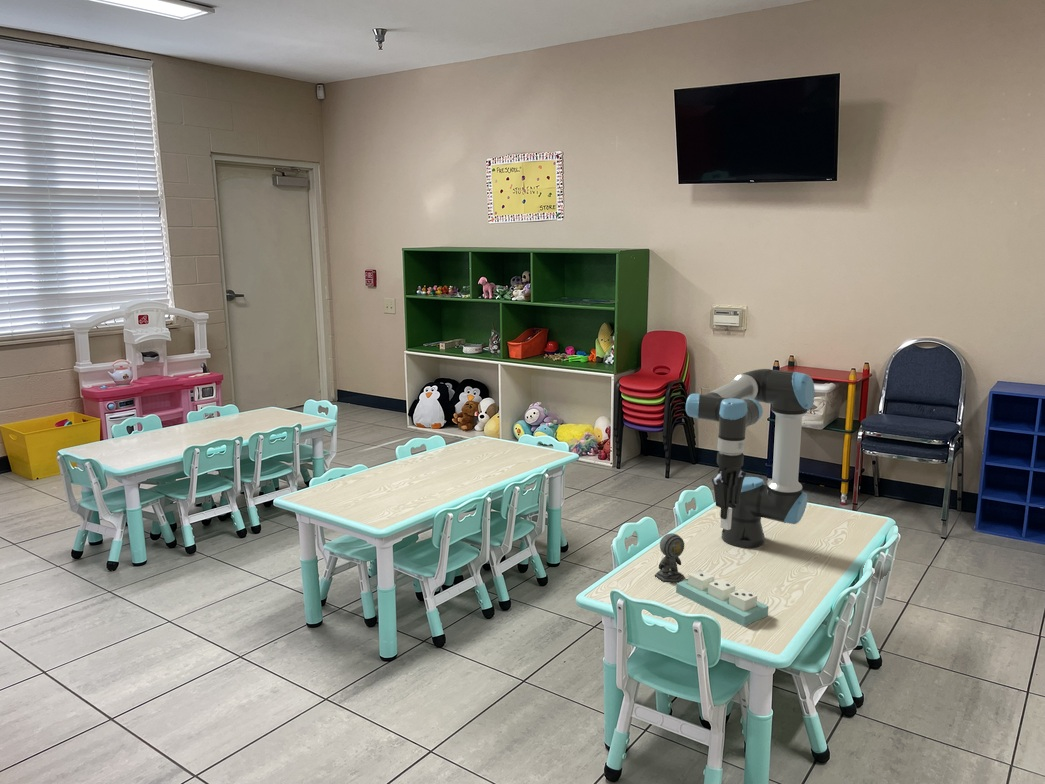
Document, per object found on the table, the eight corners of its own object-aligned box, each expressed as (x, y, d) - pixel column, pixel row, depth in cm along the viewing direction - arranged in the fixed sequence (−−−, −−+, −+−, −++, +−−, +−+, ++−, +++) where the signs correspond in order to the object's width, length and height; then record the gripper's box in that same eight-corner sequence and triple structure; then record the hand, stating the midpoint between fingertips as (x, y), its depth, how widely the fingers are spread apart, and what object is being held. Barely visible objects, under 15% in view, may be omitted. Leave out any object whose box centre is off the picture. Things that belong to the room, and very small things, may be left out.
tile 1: (687, 586, 242) (688, 573, 242) (699, 581, 246) (700, 569, 245) (701, 592, 238) (702, 580, 237) (713, 588, 241) (714, 575, 240)
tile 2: (707, 595, 236) (708, 583, 235) (719, 591, 239) (720, 578, 238) (722, 603, 232) (723, 589, 231) (734, 597, 235) (735, 585, 234)
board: (676, 592, 243) (676, 583, 242) (699, 583, 249) (700, 574, 249) (743, 626, 223) (744, 616, 222) (767, 615, 229) (768, 606, 228)
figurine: (668, 585, 248) (670, 541, 245) (649, 573, 256) (651, 530, 253) (689, 580, 252) (691, 536, 248) (670, 568, 260) (672, 526, 257)
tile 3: (728, 606, 230) (729, 592, 229) (740, 601, 233) (741, 587, 232) (744, 613, 225) (745, 600, 224) (756, 608, 229) (757, 595, 228)
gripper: (726, 458, 219) (721, 537, 224) (755, 451, 227) (749, 527, 232) (705, 452, 225) (701, 529, 230) (734, 445, 233) (729, 519, 238)
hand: (725, 528), depth 231 cm, fingers closed
